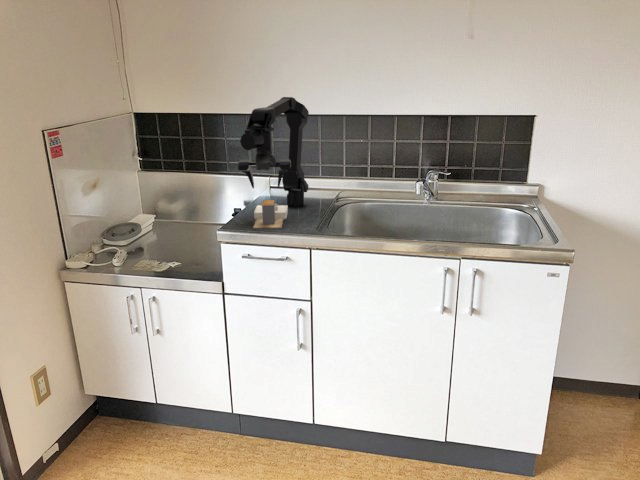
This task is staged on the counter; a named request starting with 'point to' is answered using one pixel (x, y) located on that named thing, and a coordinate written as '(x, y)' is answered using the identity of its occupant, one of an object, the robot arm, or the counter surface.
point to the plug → (268, 212)
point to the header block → (279, 212)
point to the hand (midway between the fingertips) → (265, 187)
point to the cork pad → (259, 224)
